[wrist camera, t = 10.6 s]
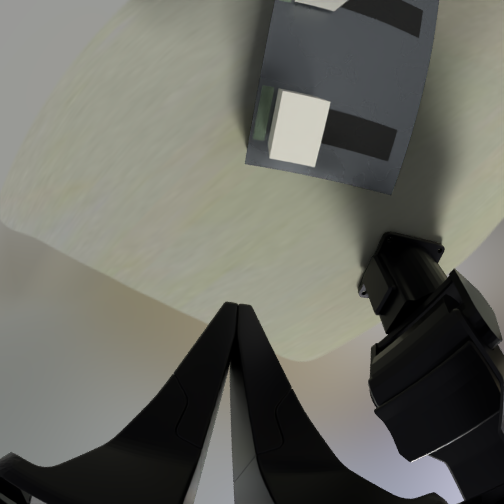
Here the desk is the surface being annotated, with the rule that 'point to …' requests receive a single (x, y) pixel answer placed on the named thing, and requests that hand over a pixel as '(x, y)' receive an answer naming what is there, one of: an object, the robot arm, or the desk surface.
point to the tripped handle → (324, 3)
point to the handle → (297, 127)
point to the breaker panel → (348, 84)
